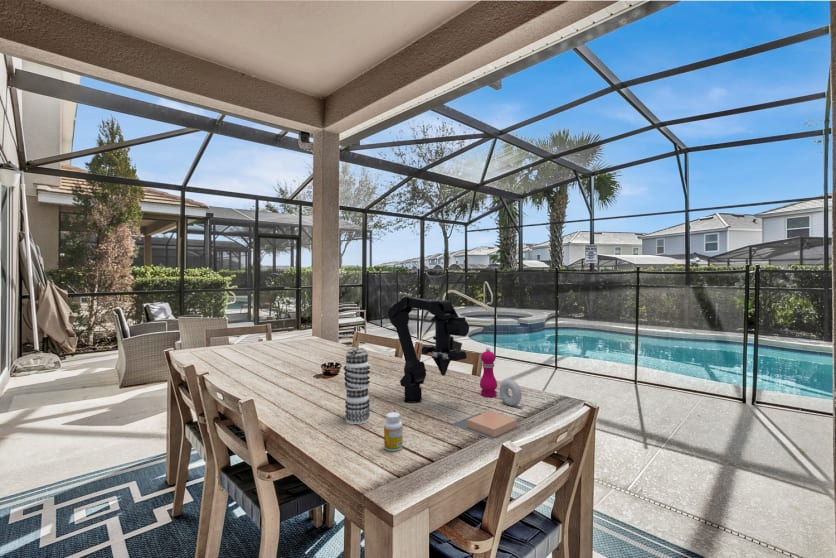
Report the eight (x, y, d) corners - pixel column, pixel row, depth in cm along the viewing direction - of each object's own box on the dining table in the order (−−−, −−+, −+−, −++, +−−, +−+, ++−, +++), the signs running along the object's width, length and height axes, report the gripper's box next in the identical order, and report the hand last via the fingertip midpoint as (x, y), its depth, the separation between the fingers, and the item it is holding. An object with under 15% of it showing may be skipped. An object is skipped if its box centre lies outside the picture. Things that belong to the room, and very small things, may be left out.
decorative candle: (349, 427, 127) (348, 352, 127) (341, 418, 135) (340, 348, 135) (374, 421, 131) (373, 349, 131) (365, 413, 140) (364, 345, 140)
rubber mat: (451, 425, 128) (451, 423, 128) (480, 414, 138) (480, 413, 138) (492, 441, 115) (492, 439, 115) (520, 427, 125) (520, 426, 125)
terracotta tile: (466, 419, 125) (494, 429, 116) (489, 410, 132) (516, 419, 124) (467, 427, 125) (494, 437, 116) (490, 418, 132) (516, 427, 124)
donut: (523, 408, 143) (523, 381, 143) (517, 410, 141) (517, 383, 141) (503, 401, 152) (503, 376, 152) (497, 402, 150) (497, 377, 150)
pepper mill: (497, 398, 155) (496, 349, 155) (479, 397, 157) (479, 349, 157) (497, 393, 162) (496, 346, 162) (480, 392, 164) (479, 345, 164)
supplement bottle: (384, 444, 114) (383, 411, 114) (402, 443, 114) (401, 411, 114) (384, 452, 109) (383, 418, 109) (403, 451, 109) (402, 417, 109)
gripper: (476, 334, 141) (476, 376, 141) (440, 329, 155) (441, 367, 155) (455, 337, 133) (456, 381, 133) (420, 332, 147) (420, 372, 147)
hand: (443, 375), depth 142 cm, fingers closed
